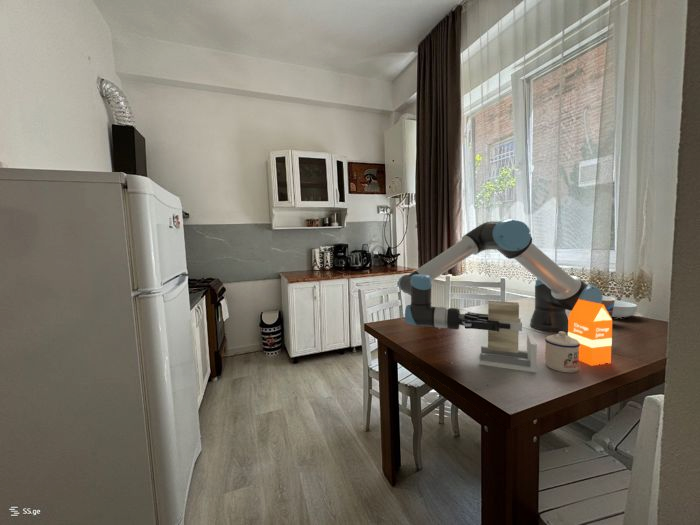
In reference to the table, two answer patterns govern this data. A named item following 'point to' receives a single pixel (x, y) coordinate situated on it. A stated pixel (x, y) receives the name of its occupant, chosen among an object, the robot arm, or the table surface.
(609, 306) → the coffee cup
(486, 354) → the track
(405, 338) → the table surface
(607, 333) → the orange juice
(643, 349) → the table surface
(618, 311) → the cereal bowl
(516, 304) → the tall wooden block
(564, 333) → the teacup with lid
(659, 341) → the table surface
